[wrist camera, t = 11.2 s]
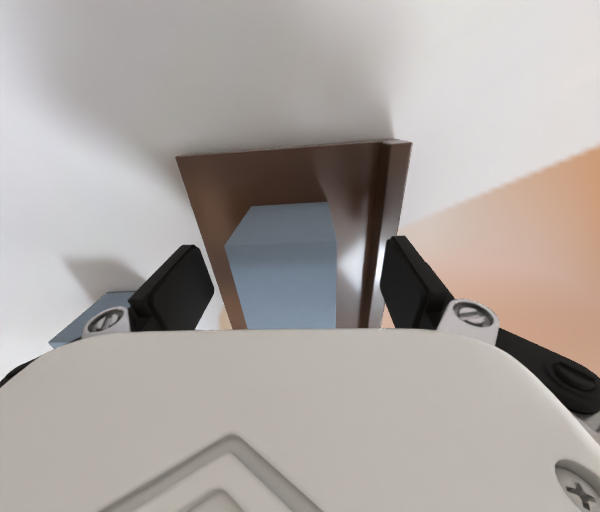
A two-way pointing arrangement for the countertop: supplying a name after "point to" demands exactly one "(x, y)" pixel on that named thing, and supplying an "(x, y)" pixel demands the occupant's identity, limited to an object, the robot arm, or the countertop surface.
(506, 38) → the countertop surface
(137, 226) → the countertop surface
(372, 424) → the robot arm
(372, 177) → the backing board
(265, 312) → the pad
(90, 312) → the pad
